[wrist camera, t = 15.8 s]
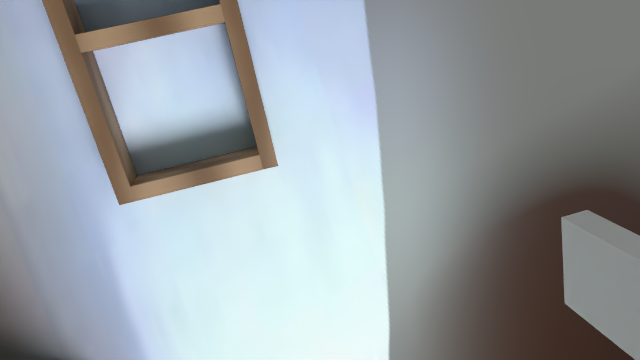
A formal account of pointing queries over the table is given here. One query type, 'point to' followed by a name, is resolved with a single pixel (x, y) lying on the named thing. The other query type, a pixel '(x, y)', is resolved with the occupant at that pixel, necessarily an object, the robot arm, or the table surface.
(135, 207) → the table surface
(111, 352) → the table surface
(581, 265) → the robot arm
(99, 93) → the caddy
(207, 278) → the table surface
